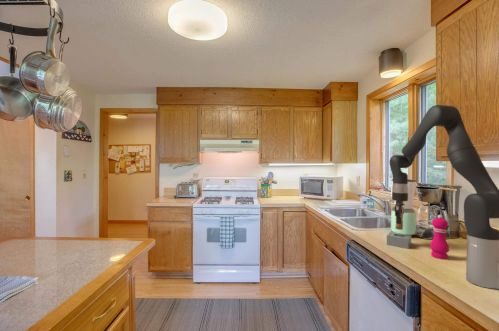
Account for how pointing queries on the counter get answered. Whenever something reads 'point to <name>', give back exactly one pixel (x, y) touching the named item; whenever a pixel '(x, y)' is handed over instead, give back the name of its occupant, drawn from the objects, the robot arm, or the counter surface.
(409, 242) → the socket block
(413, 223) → the juicer
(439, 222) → the pepper mill
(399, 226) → the peg
